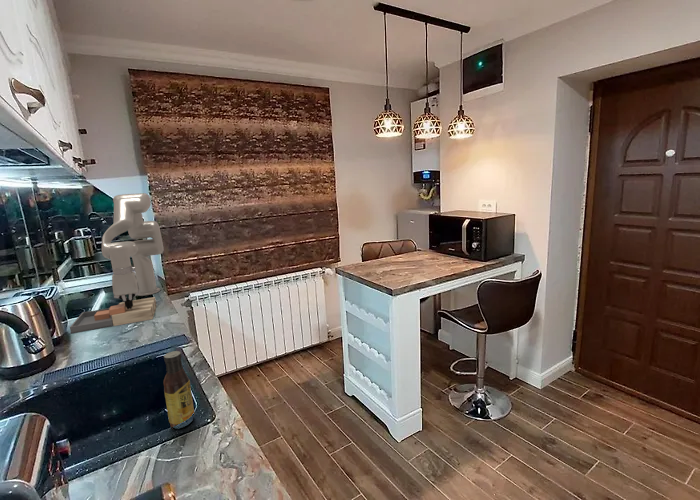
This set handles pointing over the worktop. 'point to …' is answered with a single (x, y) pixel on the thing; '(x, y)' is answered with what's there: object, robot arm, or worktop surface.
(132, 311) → the bench plate
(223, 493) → the worktop surface
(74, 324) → the box
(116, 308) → the tile
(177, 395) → the sauce bottle
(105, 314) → the tile
